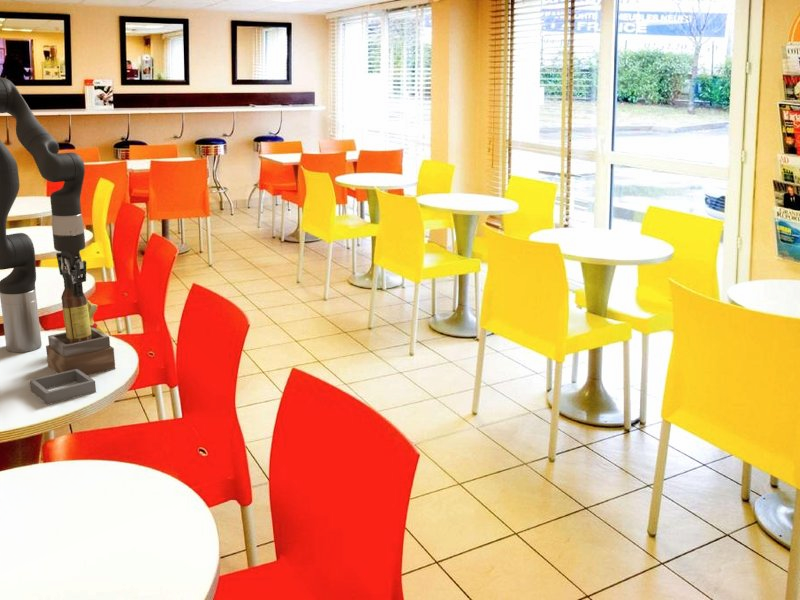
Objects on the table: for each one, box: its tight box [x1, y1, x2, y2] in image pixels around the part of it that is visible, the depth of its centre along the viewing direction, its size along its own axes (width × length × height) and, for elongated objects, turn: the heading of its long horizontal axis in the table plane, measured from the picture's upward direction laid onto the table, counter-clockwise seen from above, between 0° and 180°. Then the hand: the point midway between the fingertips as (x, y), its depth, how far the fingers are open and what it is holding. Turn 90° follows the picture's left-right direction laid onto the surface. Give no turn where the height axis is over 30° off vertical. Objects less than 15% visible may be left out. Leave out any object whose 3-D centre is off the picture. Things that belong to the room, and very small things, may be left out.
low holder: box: [29, 369, 97, 405], centre depth 193 cm, size 11×12×3 cm
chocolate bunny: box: [87, 299, 107, 335], centre depth 220 cm, size 7×11×15 cm, turn 105°
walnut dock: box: [45, 327, 116, 376], centre depth 208 cm, size 13×13×9 cm
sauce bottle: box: [60, 270, 91, 344], centre depth 205 cm, size 6×6×20 cm
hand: (74, 294), depth 204 cm, fingers closed on sauce bottle, 5 cm apart
